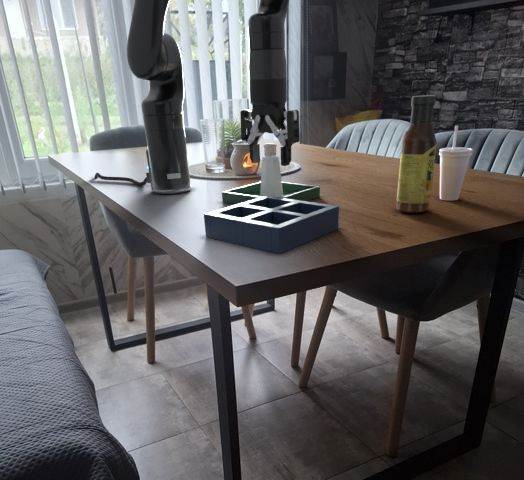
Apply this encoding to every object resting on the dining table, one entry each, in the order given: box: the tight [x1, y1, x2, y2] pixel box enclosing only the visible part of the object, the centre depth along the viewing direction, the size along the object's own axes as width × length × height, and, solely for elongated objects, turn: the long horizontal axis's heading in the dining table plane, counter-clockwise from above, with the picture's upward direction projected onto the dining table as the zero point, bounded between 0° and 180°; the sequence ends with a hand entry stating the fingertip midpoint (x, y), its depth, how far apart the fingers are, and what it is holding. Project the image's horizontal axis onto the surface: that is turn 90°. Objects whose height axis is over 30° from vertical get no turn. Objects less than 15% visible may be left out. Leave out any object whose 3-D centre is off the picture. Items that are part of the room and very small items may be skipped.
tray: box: [221, 181, 321, 205], centre depth 107 cm, size 15×15×2 cm
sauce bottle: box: [396, 94, 438, 214], centre depth 89 cm, size 7×6×20 cm
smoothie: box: [438, 125, 474, 202], centre depth 98 cm, size 6×6×14 cm
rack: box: [203, 196, 340, 255], centre depth 83 cm, size 16×16×4 cm
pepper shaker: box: [260, 142, 283, 198], centre depth 104 cm, size 5×5×11 cm
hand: (270, 163), depth 104 cm, fingers open, 8 cm apart
